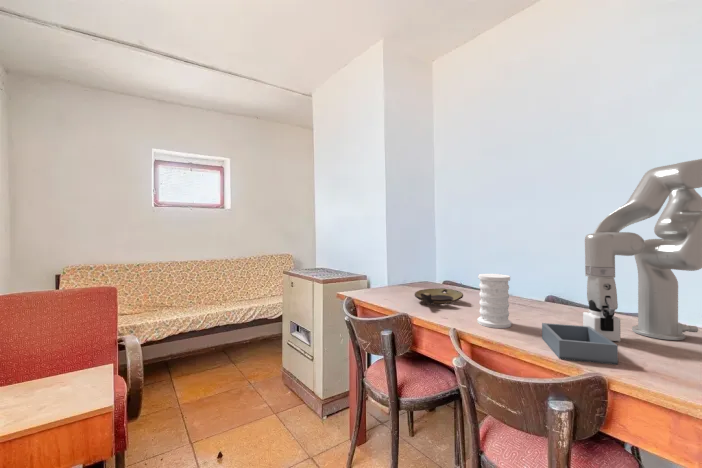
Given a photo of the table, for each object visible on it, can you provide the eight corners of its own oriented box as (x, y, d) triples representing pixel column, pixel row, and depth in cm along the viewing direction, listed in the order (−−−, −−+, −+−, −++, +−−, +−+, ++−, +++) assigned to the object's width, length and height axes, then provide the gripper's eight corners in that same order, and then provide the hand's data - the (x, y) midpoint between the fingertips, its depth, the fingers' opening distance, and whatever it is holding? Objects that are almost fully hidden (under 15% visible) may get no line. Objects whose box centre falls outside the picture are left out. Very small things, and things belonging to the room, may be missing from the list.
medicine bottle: (621, 341, 97) (620, 302, 97) (594, 340, 99) (594, 302, 98) (607, 333, 104) (606, 297, 104) (582, 333, 106) (582, 297, 105)
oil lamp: (474, 304, 150) (474, 288, 150) (428, 313, 134) (428, 295, 134) (438, 296, 169) (438, 281, 169) (394, 303, 153) (394, 287, 153)
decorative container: (473, 319, 124) (473, 273, 124) (504, 319, 123) (504, 273, 123) (482, 327, 113) (482, 277, 113) (516, 328, 112) (516, 277, 111)
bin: (589, 342, 97) (589, 326, 97) (617, 364, 81) (617, 345, 81) (542, 338, 101) (542, 322, 101) (559, 358, 85) (559, 340, 85)
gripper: (628, 276, 92) (629, 336, 92) (601, 268, 108) (602, 320, 109) (598, 275, 94) (599, 334, 94) (576, 268, 111) (577, 318, 111)
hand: (601, 326), depth 101 cm, fingers closed on medicine bottle, 7 cm apart
